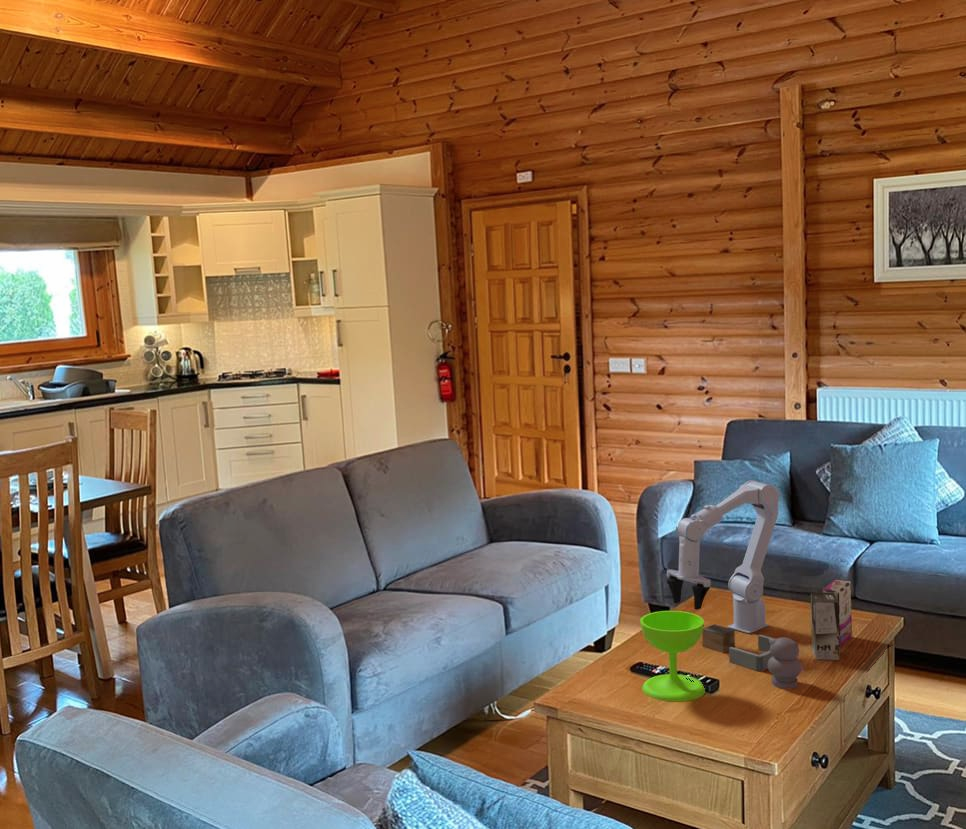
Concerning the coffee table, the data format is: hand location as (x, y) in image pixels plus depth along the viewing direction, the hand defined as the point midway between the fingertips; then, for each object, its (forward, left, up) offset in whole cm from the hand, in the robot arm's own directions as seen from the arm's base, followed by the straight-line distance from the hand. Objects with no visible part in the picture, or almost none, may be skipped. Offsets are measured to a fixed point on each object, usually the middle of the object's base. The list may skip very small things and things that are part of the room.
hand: (687, 605), depth 282 cm
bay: (0, +25, -10) cm, 27 cm away
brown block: (0, +11, -10) cm, 15 cm away
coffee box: (-16, +35, -10) cm, 39 cm away
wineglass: (+31, +21, -10) cm, 39 cm away
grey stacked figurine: (+9, +39, -10) cm, 41 cm away
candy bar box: (-27, +32, -10) cm, 43 cm away
